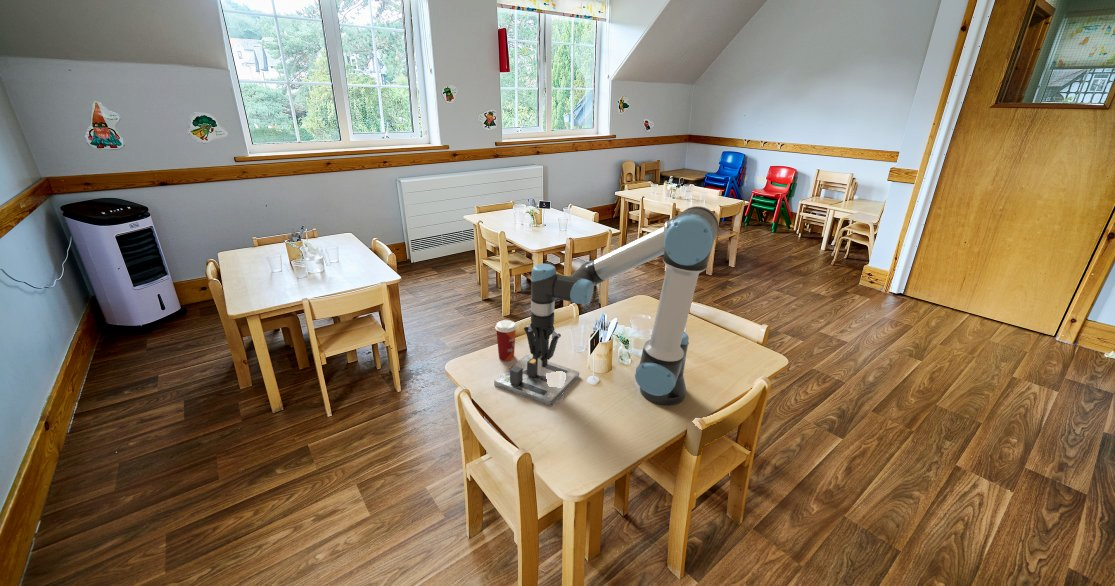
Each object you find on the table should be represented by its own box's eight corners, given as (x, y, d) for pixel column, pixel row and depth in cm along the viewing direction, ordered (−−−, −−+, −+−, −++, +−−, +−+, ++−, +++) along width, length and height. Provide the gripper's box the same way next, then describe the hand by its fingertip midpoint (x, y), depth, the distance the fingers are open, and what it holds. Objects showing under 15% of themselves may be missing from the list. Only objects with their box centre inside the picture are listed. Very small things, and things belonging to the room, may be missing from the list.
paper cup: (515, 363, 172) (515, 329, 167) (494, 362, 172) (493, 328, 167) (517, 352, 180) (517, 319, 174) (497, 351, 180) (496, 318, 174)
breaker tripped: (539, 373, 163) (539, 360, 161) (534, 377, 160) (534, 364, 158) (531, 370, 164) (531, 357, 162) (527, 374, 162) (527, 361, 160)
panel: (579, 376, 166) (579, 371, 165) (550, 406, 150) (550, 401, 149) (526, 358, 175) (526, 354, 174) (494, 385, 159) (494, 380, 158)
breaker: (522, 381, 158) (522, 368, 156) (517, 385, 156) (517, 372, 154) (515, 378, 160) (515, 365, 158) (510, 382, 157) (509, 369, 155)
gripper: (566, 312, 151) (563, 374, 160) (531, 302, 157) (531, 362, 166) (554, 321, 145) (552, 385, 154) (519, 310, 151) (519, 373, 160)
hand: (541, 373), depth 160 cm, fingers closed
